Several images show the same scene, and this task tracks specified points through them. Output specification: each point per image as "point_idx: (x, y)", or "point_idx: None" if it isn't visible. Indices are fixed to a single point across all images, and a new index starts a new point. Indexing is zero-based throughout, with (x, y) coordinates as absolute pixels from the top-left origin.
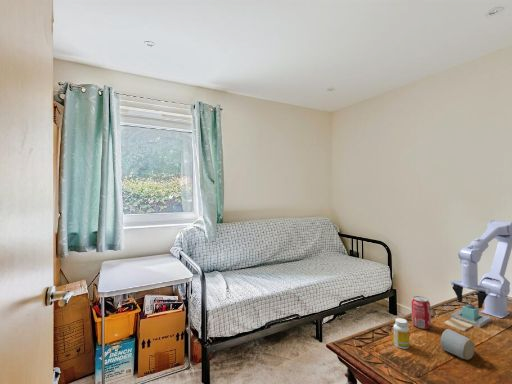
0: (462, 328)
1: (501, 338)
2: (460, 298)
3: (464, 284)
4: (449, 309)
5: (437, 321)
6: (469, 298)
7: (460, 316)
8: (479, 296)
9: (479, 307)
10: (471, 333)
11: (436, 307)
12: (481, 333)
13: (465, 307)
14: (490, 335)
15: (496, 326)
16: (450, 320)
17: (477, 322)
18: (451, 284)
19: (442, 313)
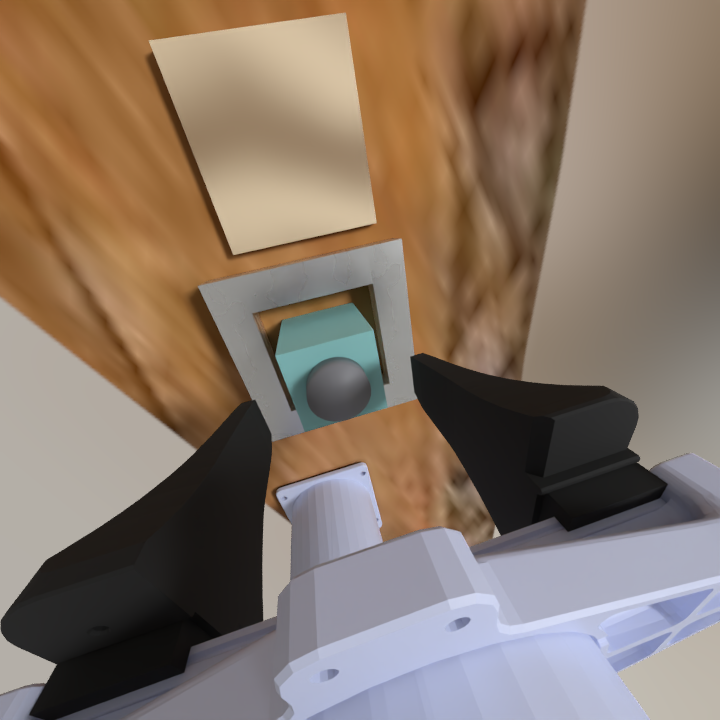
0: (188, 72)
1: (2, 257)
2: (429, 385)
3: (508, 689)
4: (463, 347)
5: (395, 17)
6: (471, 519)
7: (345, 273)
8: (148, 516)
9: (240, 406)
10: (107, 80)
11: (520, 298)
12: (103, 185)
13: (348, 342)
14: (61, 223)
15: (203, 396)
16: (349, 151)
17: (226, 297)
18: (689, 459)
19: (457, 246)
